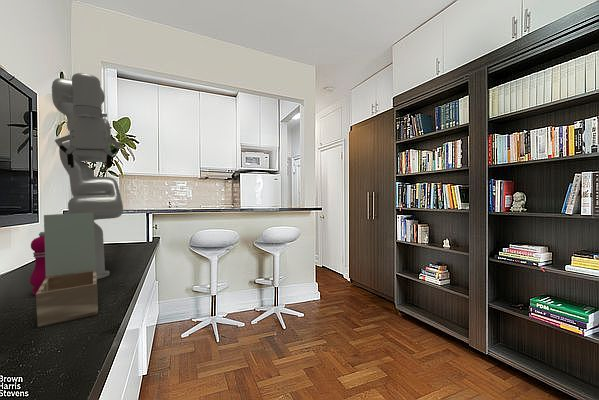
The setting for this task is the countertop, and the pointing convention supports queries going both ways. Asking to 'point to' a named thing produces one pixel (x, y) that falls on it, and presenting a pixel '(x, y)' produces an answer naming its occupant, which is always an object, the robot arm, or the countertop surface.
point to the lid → (69, 243)
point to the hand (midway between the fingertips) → (90, 167)
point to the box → (67, 298)
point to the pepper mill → (38, 262)
